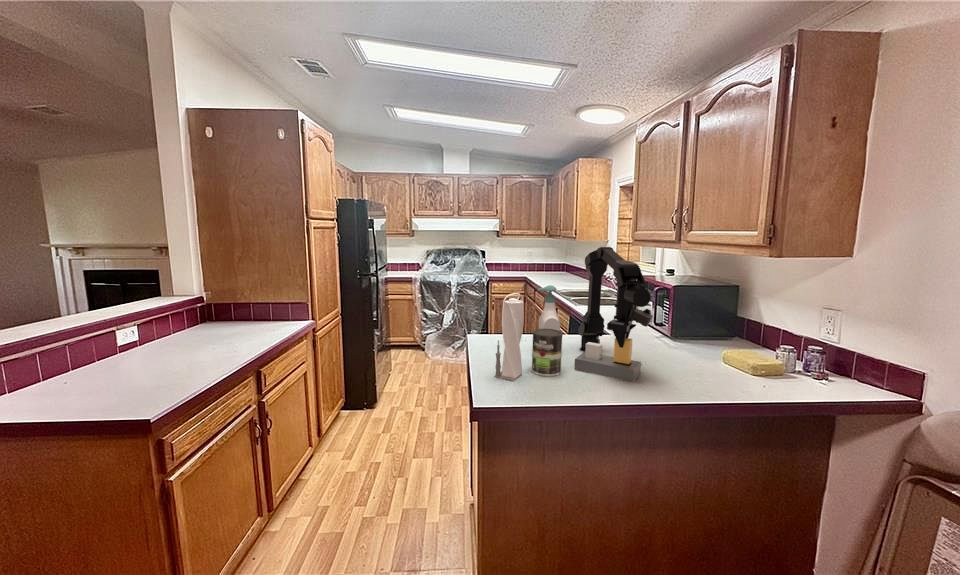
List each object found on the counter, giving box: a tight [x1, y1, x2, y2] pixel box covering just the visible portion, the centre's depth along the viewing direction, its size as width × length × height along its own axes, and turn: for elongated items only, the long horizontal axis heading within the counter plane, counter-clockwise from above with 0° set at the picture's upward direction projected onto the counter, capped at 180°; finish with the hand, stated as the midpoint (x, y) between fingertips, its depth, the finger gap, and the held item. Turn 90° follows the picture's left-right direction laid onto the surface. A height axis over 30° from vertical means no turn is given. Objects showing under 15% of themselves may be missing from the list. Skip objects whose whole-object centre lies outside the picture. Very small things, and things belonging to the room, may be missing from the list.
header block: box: [574, 351, 642, 383], centre depth 137 cm, size 20×10×4 cm, turn 55°
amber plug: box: [613, 337, 633, 364], centre depth 134 cm, size 5×3×8 cm, turn 56°
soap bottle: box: [537, 285, 561, 331], centre depth 156 cm, size 11×8×27 cm
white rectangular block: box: [584, 342, 603, 361], centre depth 140 cm, size 5×3×8 cm, turn 55°
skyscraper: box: [493, 292, 525, 382], centre depth 131 cm, size 8×8×28 cm
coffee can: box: [531, 328, 564, 377], centre depth 137 cm, size 10×10×14 cm
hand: (622, 346), depth 134 cm, fingers closed on amber plug, 3 cm apart
